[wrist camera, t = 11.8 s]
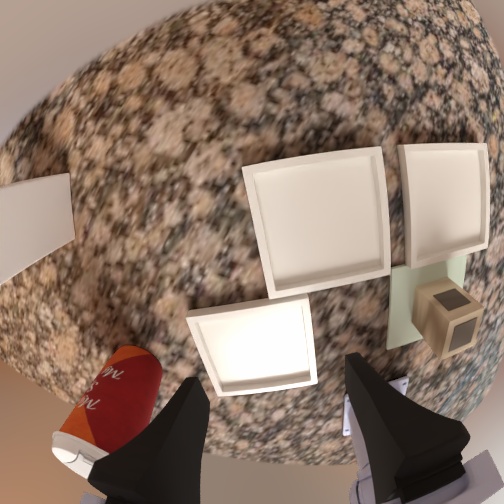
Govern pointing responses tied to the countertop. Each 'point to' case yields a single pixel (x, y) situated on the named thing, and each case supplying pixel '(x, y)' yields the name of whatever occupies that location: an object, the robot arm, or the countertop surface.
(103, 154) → the countertop surface
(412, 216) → the dish
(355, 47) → the countertop surface
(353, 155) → the dish
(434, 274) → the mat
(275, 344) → the dish
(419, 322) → the letter block
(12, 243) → the milk
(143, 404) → the paper cup
